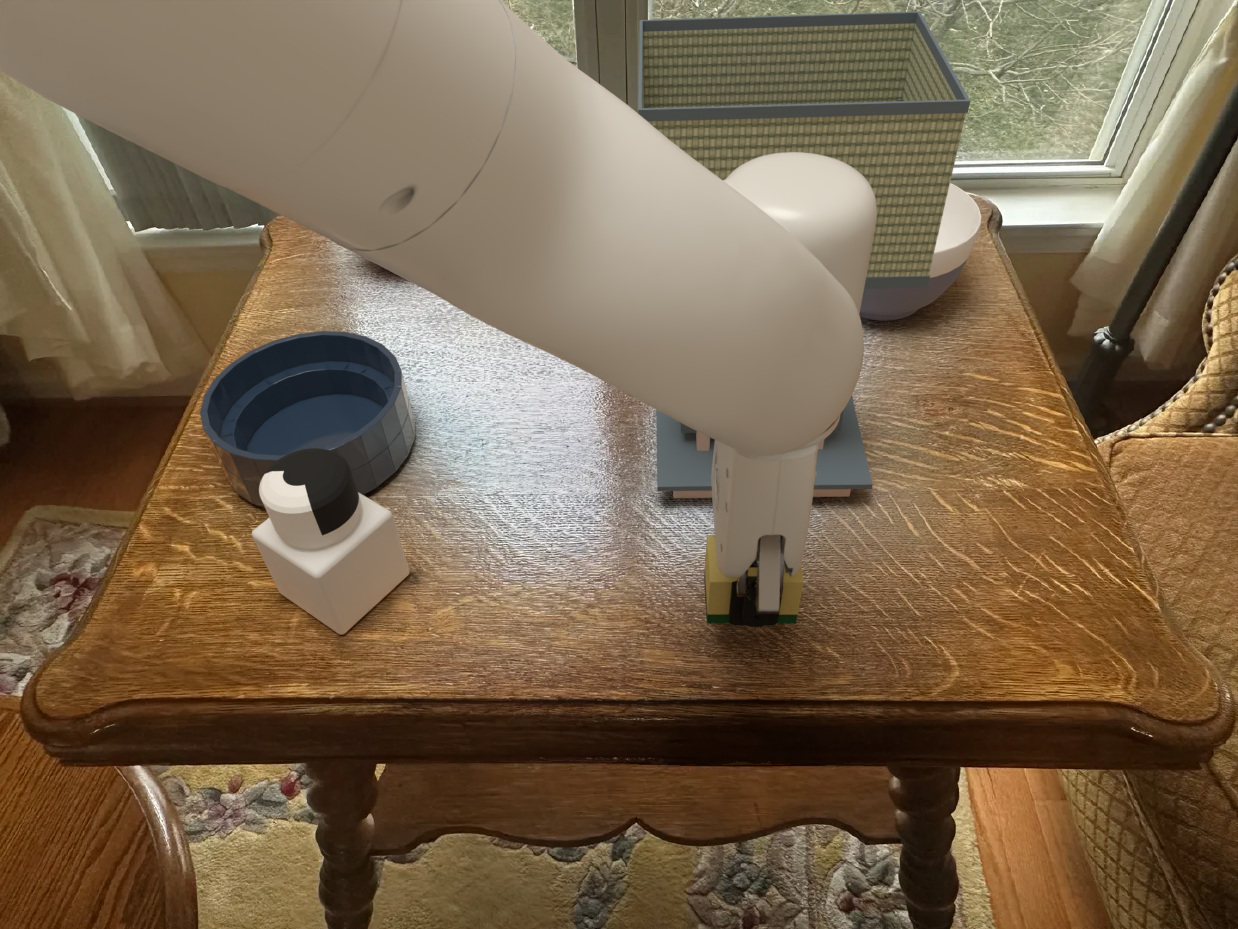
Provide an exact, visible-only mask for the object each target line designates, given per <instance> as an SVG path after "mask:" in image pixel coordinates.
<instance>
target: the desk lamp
mask: <svg viewBox="0 0 1238 929" xmlns="http://www.w3.org/2000/svg"><path fill="white" fill-rule="evenodd" d="M638 25H639V26H638V29H639V30H638V33H639V34H638V89H637V90H638V92H637V95H638V96H637V97H638V98H637V99H638V100H637V113H638V114H639V115H640V116H642V117H643V118H644V119H645V120H646V121H648V122H649V123H650V124H651V125H652V126H653V127H654V128H656V129H657V130H658V131H659V132H660V133H662V134H663V135H664V136H665V137H667V138H668V139H669V140H670V141H671V142H673V143H674V144H675V145H677V146H678V147H679V148H680V149H682V150H683V151H684V152H685V153H687V154H688V155H689V156H691V157H692V158H693V159H695V160H696V161H697V162H699V163H700V164H701V165H703V166H704V167H705V168H707V169H708V170H709V171H711V172H712V173H713V174H715V175H716V176H717V177H719V178H720V179H721V180H725V179H726V178H727V177H728V176H729V175H730V174H731V173H732V172H733V171H734V170H735V169H736V168H738V167H739V166H741V165H743V164H744V163H746V162H748V161H750V160H752V159H755V158H757V157H760V156H764V155H768V154H774V153H783V152H804V153H813V154H818V155H823V156H827V157H831V158H834V159H837V160H839V161H842V162H844V163H846V164H848V165H849V166H851V167H853V168H854V169H855V170H857V171H858V172H859V173H860V174H862V175H863V176H864V177H865V178H866V180H867V181H868V182H869V184H870V186H871V188H872V190H873V192H874V194H875V198H876V205H877V218H876V226H875V233H874V238H873V243H872V249H871V254H870V260H869V265H868V270H867V276H866V281H865V286H864V289H882V288H927V287H928V283H929V278H930V275H929V272H930V268H931V263H932V259H933V255H934V250H935V246H936V242H937V237H938V233H939V229H940V224H941V220H942V216H943V211H944V207H945V202H946V198H947V194H948V189H949V185H950V183H951V181H952V176H953V171H954V167H955V162H956V158H957V154H958V150H959V146H960V141H961V138H962V137H961V136H962V133H963V128H964V124H965V120H966V115H967V114H969V109H970V105H971V100H970V97H969V96H968V94H967V92H966V90H965V89H964V87H963V85H962V83H961V82H960V80H959V78H958V76H957V74H956V73H955V71H954V69H953V67H952V66H951V64H950V62H949V60H948V59H947V57H946V55H945V53H944V52H943V50H942V48H941V46H940V44H939V42H938V41H937V39H936V37H935V36H934V33H933V31H932V30H931V28H930V26H929V25H928V23H927V22H926V19H925V18H924V16H923V14H922V12H921V11H920V10H919V11H887V12H858V13H857V12H856V13H855V12H853V13H823V14H821V13H820V14H795V15H793V14H792V15H791V14H790V15H788V14H787V15H786V14H785V15H762V16H761V15H759V16H757V15H756V16H726V17H725V16H724V17H694V18H691V17H690V18H663V19H661V18H660V19H639V24H638ZM655 411H656V412H655V413H656V414H655V415H656V490H657V492H672V495H673V496H672V497H673V498H672V499H712V481H711V475H712V461H713V452H714V444H715V439H713V438H710V437H708V436H706V435H704V434H702V433H700V432H698V431H696V430H694V429H692V428H690V427H688V426H686V425H684V424H682V423H680V422H679V421H677V420H675V419H673V418H671V417H669V416H667V415H665V414H664V413H662V412H660V411H658V410H656V409H655ZM856 411H857V410H856V408H855V403H854V399H853V395H852V396H851V398H850V400H849V402H848V403H847V405H846V407H845V408H844V410H843V411H842V412H841V414H840V420H839V422H838V425H837V426H836V428H835V429H834V430H833V432H832V433H831V434H830V435H829V436H828V437H826V438H825V439H824V440H822V441H820V442H819V444H818V454H817V464H816V473H817V474H816V477H815V482H814V491H813V498H826V497H827V498H831V497H833V498H834V497H838V498H839V497H850V495H851V490H872V489H873V480H872V475H871V471H870V467H869V466H870V465H869V462H868V458H867V455H866V450H865V445H864V441H863V438H862V432H861V429H860V424H859V420H858V416H857V412H856Z"/></svg>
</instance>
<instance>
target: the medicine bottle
mask: <svg viewBox="0 0 1238 929" xmlns="http://www.w3.org/2000/svg"><path fill="white" fill-rule="evenodd" d="M259 494H260V497H261V500H262V502H263V504H264V507H263V508H264V509H265V511H266V513H267V515H268V518H267V519H265V520H264V521H263V522H261V523H260V524H259V525H258V526H256V527H255V528H254V529H253V530H252V531H251V537H252V539H253V541H254V543H255V545H256V548H257V549H258V551H259V554H260V556H261V558H262V560H263V562H264V564H265V566H266V568H267V570H268V572H269V574H270V577H271V579H272V581H273V583H274V585H275V587H276V589H277V591H278V593H279V594H280V595H282V596H283V597H284V598H286V599H287V600H289V601H290V602H292V603H293V604H295V605H296V606H297V607H299V608H300V609H302V610H303V611H305V612H306V613H308V614H309V615H311V616H312V617H313V618H315V620H317V621H319V622H321V623H322V624H323V625H325V626H326V627H328V628H329V629H331V630H332V631H334V632H335V633H337V634H338V635H339V636H340V635H345V634H346V633H348V631H349V630H350V629H352V628H353V627H354V626H355V625H356V624H357V623H358V622H359V621H360V620H361V619H362V618H364V617H365V616H366V615H367V614H368V613H369V612H370V611H371V610H372V609H374V607H376V606H377V605H378V604H379V603H380V602H381V601H382V600H383V599H384V598H386V597H387V595H389V594H390V593H391V592H392V591H393V590H394V589H395V588H396V587H397V586H398V585H399V584H400V583H401V582H402V581H404V580H405V579H406V578H407V577H408V576H409V575H410V574H411V573H410V572H411V571H410V567H409V563H408V560H407V556H406V553H405V551H404V548H403V544H402V541H401V538H400V535H399V534H400V533H399V531H398V529H397V528H398V527H397V525H396V522H395V518H394V515H393V513H392V512H391V511H390V510H389V509H388V508H386V507H384V506H383V505H380V504H379V503H377V502H376V501H375V500H372V499H371V498H369V497H367V496H366V495H365V494H364V495H362V494H360V493H359V492H358V491H357V488H356V485H355V482H354V479H353V476H352V473H351V470H350V467H349V464H348V463H347V461H346V460H345V459H344V458H343V457H342V456H341V455H339V454H337V453H335V452H332V451H329V450H325V449H319V448H311V449H303V450H299V451H295V452H293V453H290V454H288V455H286V456H284V457H282V458H280V459H279V460H277V461H276V462H275V463H274V464H273V465H271V466H270V468H269V469H268V470H267V471H266V473H265V474H264V476H263V478H262V480H261V482H260V486H259Z"/></svg>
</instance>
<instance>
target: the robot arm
mask: <svg viewBox="0 0 1238 929" xmlns="http://www.w3.org/2000/svg"><path fill="white" fill-rule="evenodd" d="M0 71H1V72H2V73H4V74H5V75H7V76H8V77H10V78H11V79H13V80H14V81H16V82H17V83H20V84H21V85H23V86H25V87H26V88H28V89H30V90H31V91H33V92H34V93H36V94H38V95H39V96H41V97H43V98H45V99H46V100H48V101H50V102H52V103H54V104H56V105H58V106H59V107H62V108H63V109H66V110H67V111H69V112H71V113H73V114H75V115H77V116H79V117H81V118H83V119H85V120H87V121H88V122H90V123H92V124H95V125H96V126H98V127H101V128H103V129H105V130H107V131H108V132H110V133H113V134H115V135H116V136H119V137H121V138H122V139H125V140H126V141H128V142H131V143H133V144H135V145H137V146H139V147H141V148H143V149H145V150H146V151H149V152H151V153H153V154H155V155H157V156H159V157H160V158H163V159H164V160H166V161H169V162H171V163H172V164H175V165H176V166H179V167H181V168H183V169H185V170H187V171H189V172H191V173H193V174H195V175H197V176H199V177H201V178H203V179H205V180H208V181H210V183H214V184H215V185H218V186H220V187H223V188H226V189H228V190H230V191H232V192H234V193H236V194H238V195H240V196H242V197H244V198H246V199H248V200H250V201H251V202H254V203H256V204H258V205H260V206H262V207H264V208H266V209H268V210H270V211H272V212H274V213H276V214H277V215H280V216H282V217H284V218H286V219H288V220H290V221H292V222H294V223H296V224H298V225H301V226H302V227H304V228H306V229H308V230H310V231H312V232H314V233H316V234H319V235H320V236H322V237H324V238H326V239H328V240H329V241H331V242H333V243H334V244H337V245H338V246H340V247H342V248H344V249H345V250H348V251H349V252H352V253H354V254H356V255H358V256H359V257H362V258H364V259H366V260H368V261H370V262H371V263H374V264H376V265H377V264H378V266H380V267H381V268H383V269H385V270H387V271H388V272H391V273H393V274H394V275H397V276H399V277H400V278H403V279H405V280H407V281H408V282H410V283H412V284H414V285H416V286H418V287H420V288H421V289H423V290H425V291H428V292H430V293H431V294H433V295H435V296H436V297H438V298H440V299H442V300H444V301H445V302H448V303H449V304H450V305H452V306H454V307H455V308H457V309H458V310H460V311H462V312H464V313H465V314H467V315H469V316H470V317H473V318H475V319H477V320H478V321H480V322H482V323H484V324H486V325H487V326H490V327H492V328H494V329H496V330H498V331H500V332H502V333H503V334H506V335H508V336H510V337H512V338H515V339H517V340H519V341H521V342H524V343H526V344H527V345H530V346H532V347H534V348H536V349H538V350H541V351H543V352H545V353H548V354H550V355H552V356H554V357H556V358H558V359H560V360H562V361H563V362H566V363H568V364H570V365H573V366H574V367H576V368H578V369H580V370H582V371H584V372H585V373H588V374H590V375H591V376H594V377H595V378H597V379H599V380H601V381H603V382H605V383H607V384H609V385H610V386H613V387H614V388H616V389H618V390H620V391H622V392H624V393H625V394H627V395H629V396H631V397H633V398H635V399H636V400H637V401H640V402H642V403H644V404H646V405H647V406H649V407H650V408H652V409H654V410H655V411H656V410H658V411H660V412H662V413H664V414H665V415H667V416H669V417H671V418H673V419H675V420H677V421H679V422H680V423H682V424H684V425H686V426H688V427H690V428H692V429H694V430H696V431H698V432H700V433H702V434H704V435H706V436H708V437H710V438H713V439H715V444H714V452H713V461H712V475H711V481H712V498H711V499H712V515H713V516H712V517H713V529H714V535H715V543H716V554H717V563H718V568H719V570H720V571H721V572H722V574H723V575H725V576H726V577H737V581H735V582H732V587H731V597H730V608H729V623H730V624H729V625H730V626H734V627H735V626H739V627H740V626H741V627H742V626H744V627H749V628H762V627H766V626H767V627H768V626H769V627H770V626H771V627H772V626H775V625H777V623H778V618H779V612H780V606H781V599H782V593H783V579H784V568H785V572H786V573H789V575H790V577H792V576H793V575H795V574H796V573H797V572H798V570H799V569H800V567H801V568H802V565H803V564H802V563H803V560H804V555H805V552H806V545H807V540H808V533H809V529H810V528H809V527H810V520H811V514H812V505H813V498H814V497H813V491H814V482H815V477H816V474H817V473H816V464H817V454H818V444H819V442H820V441H822V440H824V439H825V438H826V437H828V436H829V435H830V434H831V433H832V432H833V430H834V429H835V428H836V426H837V425H838V422H839V420H840V414H841V412H842V411H843V410H844V408H845V407H846V405H847V403H848V402H849V400H850V398H851V396H852V397H853V394H854V392H855V389H856V387H857V384H858V382H859V379H860V375H861V371H862V367H863V363H864V352H865V341H864V340H865V337H864V328H863V324H862V320H861V317H860V316H859V313H860V308H861V302H862V297H863V292H864V286H865V281H866V276H867V270H868V265H869V260H870V254H871V249H872V243H873V238H874V233H875V226H876V218H877V205H876V198H875V194H874V192H873V190H872V188H871V186H870V184H869V182H868V181H867V180H866V178H865V177H864V176H863V175H862V174H860V173H859V172H858V171H857V170H855V169H854V168H853V167H851V166H849V165H848V164H846V163H844V162H842V161H839V160H837V159H834V158H831V157H827V156H823V155H818V154H813V153H804V152H783V153H774V154H768V155H764V156H760V157H757V158H755V159H752V160H750V161H748V162H746V163H744V164H743V165H741V166H739V167H738V168H736V169H735V170H734V171H733V172H732V173H731V174H730V175H729V176H728V177H727V178H726V179H725V180H721V179H720V178H719V177H717V176H716V175H715V174H713V173H712V172H711V171H709V170H708V169H707V168H705V167H704V166H703V165H701V164H700V163H699V162H697V161H696V160H695V159H693V158H692V157H691V156H689V155H688V154H687V153H685V152H684V151H683V150H682V149H680V148H679V147H678V146H677V145H675V144H674V143H673V142H671V141H670V140H669V139H668V138H667V137H665V136H664V135H663V134H662V133H660V132H659V131H658V130H657V129H656V128H654V127H653V126H652V125H651V124H650V123H649V122H648V121H646V120H645V119H644V118H643V117H642V116H640V115H639V114H638V111H635V110H634V109H633V108H632V107H631V106H629V105H628V104H627V103H625V101H623V100H622V99H620V98H619V97H618V96H616V95H615V94H614V93H613V92H611V91H610V90H608V89H607V88H606V87H605V86H603V85H601V84H600V83H599V82H597V81H596V80H594V79H593V78H592V77H590V76H589V75H588V74H587V73H585V72H584V71H583V70H580V69H579V68H578V67H577V66H576V65H574V64H573V63H572V62H570V61H569V60H568V59H567V58H565V57H564V56H563V55H562V54H560V53H559V52H558V51H557V50H556V49H554V48H553V46H552V45H550V44H549V43H548V42H547V41H546V40H545V39H544V38H542V37H541V36H540V34H538V33H537V32H536V31H535V30H534V29H533V28H531V27H530V26H529V25H528V24H527V23H526V22H525V21H524V20H522V18H521V17H519V15H517V14H516V13H515V12H514V11H513V10H512V9H511V8H510V7H509V6H508V5H507V4H506V3H504V2H503V0H0ZM748 568H757V576H748Z"/></svg>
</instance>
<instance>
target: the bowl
mask: <svg viewBox="0 0 1238 929" xmlns="http://www.w3.org/2000/svg"><path fill="white" fill-rule="evenodd" d="M981 225H982V213H981V211H980V207H979V206H978V203H977V202H976V201H975V200H974V199H973V197H972V196H971V195H969V193H967V192H966V191H965V190H963V189H962V188H960V187H959V186H957V185H956V184H953V183H952V182H950V185H949V189H948V194H947V198H946V202H945V207H944V211H943V216H942V220H941V224H940V229H939V233H938V237H937V242H936V246H935V250H934V255H933V259H932V263H931V268H930V272H929V275H930V278H929V283H928V287H927V288H882V289H864V292H863V297H862V302H861V308H860V313H859V316H860V318H862V319H865V320H872V321H883V322H884V321H885V322H886V321H896V320H900V319H905V318H907V317H910V316H912V315H914V314H916V313H917V312H918V311H919V310H920V309H921V308H924V307H927V306H928V305H930V304H932V303H934V302H935V301H936V300H938V299H939V298H940V297H941V296H942V295H943V294H944V293H945V292H946V291H947V290H948V289H949V288H950V287H951V286H952V285H953V284H954V283H955V282H956V281H957V280H958V278H959V276H960V275H961V273H962V271H963V269H964V267H965V265H966V263H967V261H968V260H969V258H970V256H971V254H972V252H973V250H974V247H975V244H976V241H977V238H978V236H979V231H980V229H981Z"/></svg>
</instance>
